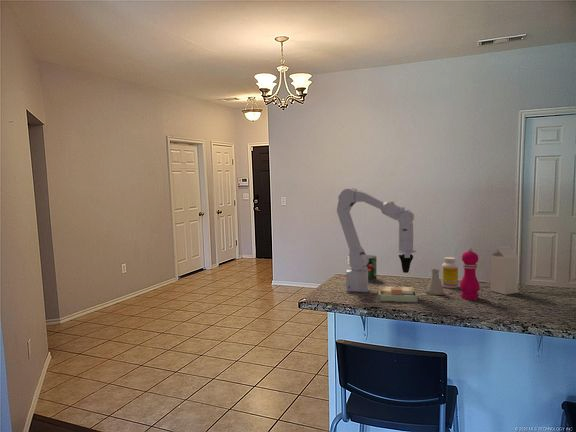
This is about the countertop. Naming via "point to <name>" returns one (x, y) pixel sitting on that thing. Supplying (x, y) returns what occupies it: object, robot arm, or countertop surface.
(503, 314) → the countertop surface
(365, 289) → the robot arm
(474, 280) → the pepper mill
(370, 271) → the canned tomato
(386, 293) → the birch plate
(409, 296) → the box
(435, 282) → the flask
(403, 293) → the slate tile
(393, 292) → the terracotta tile
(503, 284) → the milk carton
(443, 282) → the supplement bottle
